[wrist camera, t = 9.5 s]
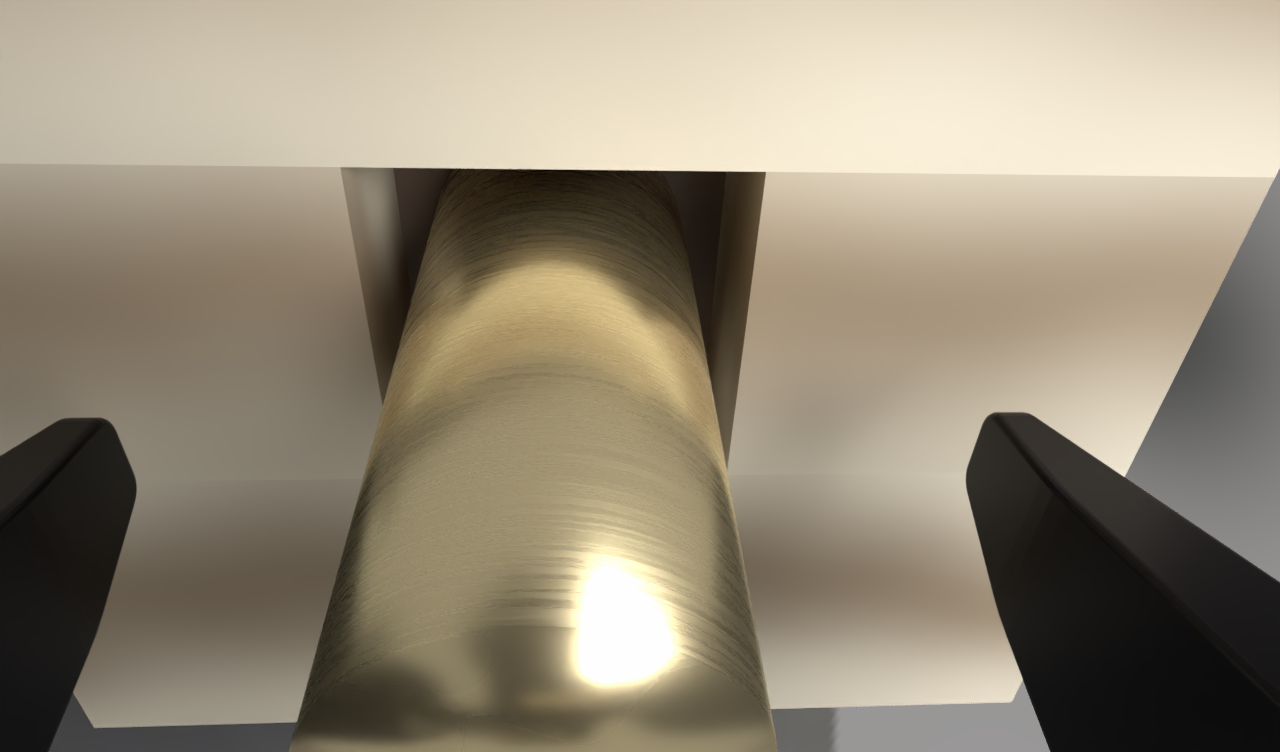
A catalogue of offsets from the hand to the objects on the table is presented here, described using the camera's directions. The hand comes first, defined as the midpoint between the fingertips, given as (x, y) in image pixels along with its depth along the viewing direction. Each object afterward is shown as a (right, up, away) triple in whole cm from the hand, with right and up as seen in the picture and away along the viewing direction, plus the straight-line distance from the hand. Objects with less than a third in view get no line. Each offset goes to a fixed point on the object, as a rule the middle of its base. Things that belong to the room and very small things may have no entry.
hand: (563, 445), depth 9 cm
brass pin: (0, +3, +3) cm, 4 cm away
